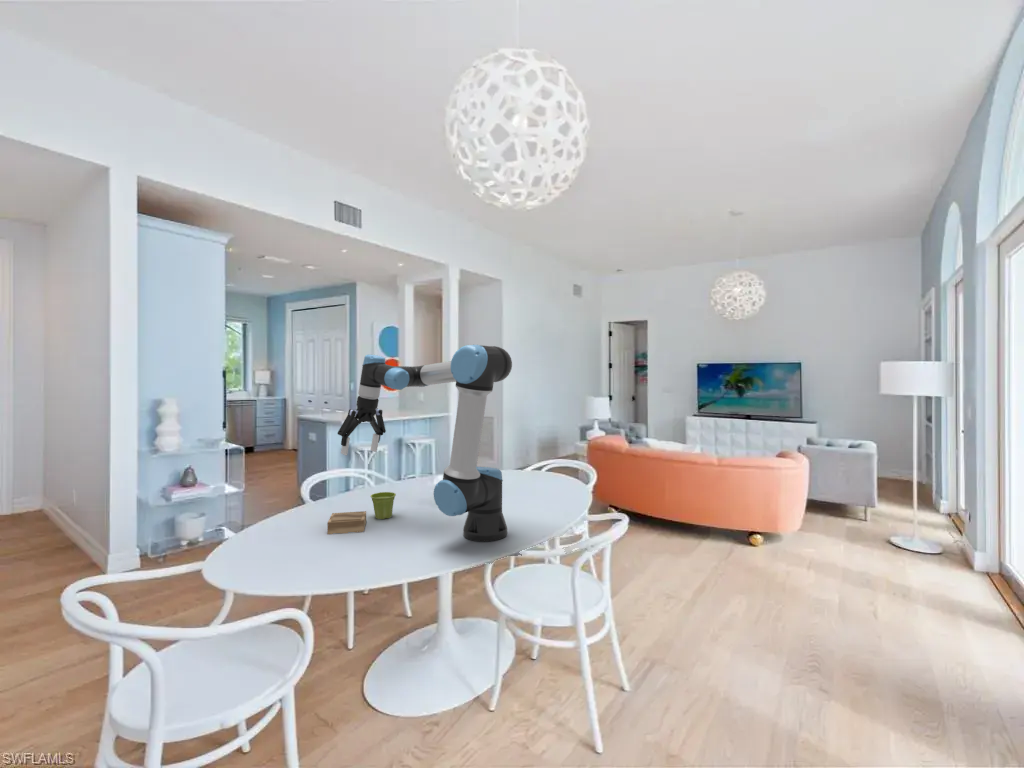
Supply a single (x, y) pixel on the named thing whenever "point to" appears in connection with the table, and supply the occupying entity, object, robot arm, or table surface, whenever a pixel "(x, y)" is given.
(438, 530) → the table surface
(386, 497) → the plant pot
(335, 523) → the oak plinth
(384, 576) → the table surface
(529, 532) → the table surface
